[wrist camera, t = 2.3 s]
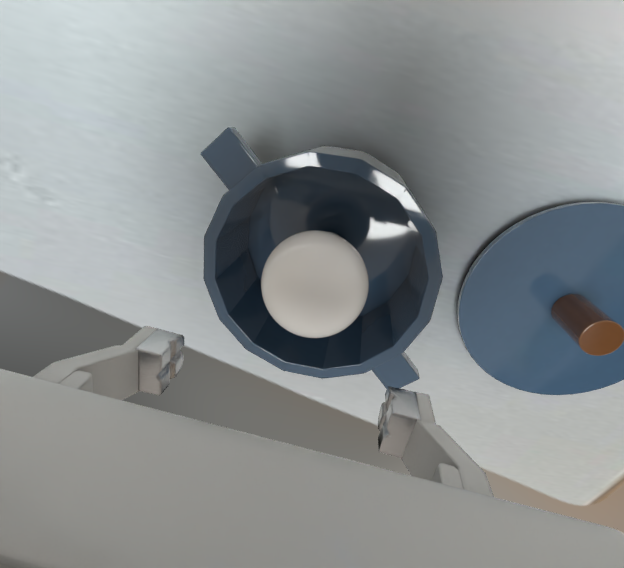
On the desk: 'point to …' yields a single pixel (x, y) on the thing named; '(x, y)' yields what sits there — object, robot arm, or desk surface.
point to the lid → (550, 301)
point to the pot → (331, 218)
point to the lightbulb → (314, 284)
